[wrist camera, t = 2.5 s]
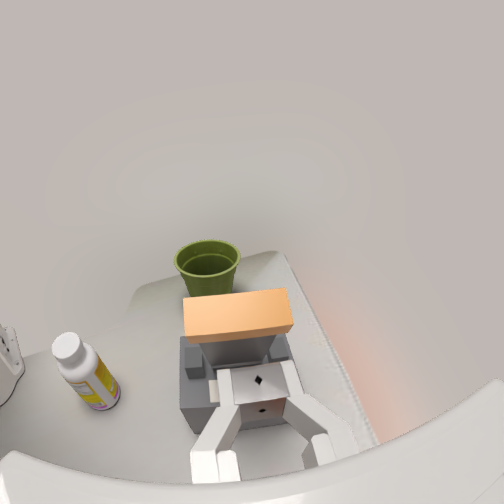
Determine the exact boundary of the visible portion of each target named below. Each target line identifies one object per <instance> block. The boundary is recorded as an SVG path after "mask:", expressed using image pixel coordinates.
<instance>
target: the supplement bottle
mask: <svg viewBox="0 0 504 504" xmlns="http://www.w3.org/2000/svg"><path fill="white" fill-rule="evenodd" d="M52 353H53V355H54V356H55V358H56V359H57V361H58V369H59V372H60V374H61V375H62V376H63V378H64V379H65V380H66V381H67V382H68V383H69V384H70V386H71V387H72V388H73V389H74V390H75V391H76V392H77V393H78V394H79V395H80V397H81V398H82V399H83V400H84V401H85V402H86V403H87V404H88V405H90V406H91V407H92V408H94V409H97V410H105V409H108V408H110V407H112V406H113V405H114V404H115V403H116V402H117V400H118V398H119V394H120V390H119V386H118V384H117V382H116V381H115V379H114V378H113V376H112V375H111V374H110V372H109V371H108V369H107V368H106V366H105V365H104V363H103V362H102V360H101V359H100V357H99V356H98V354H97V353H96V351H95V350H94V349H93V347H91V346H90V345H89V344H87V343H84V342H82V341H81V339H80V338H79V336H78V335H77V334H75V333H72V332H67V333H63V334H62V335H60V336H58V337H57V338H56V340H55V341H54V343H53V345H52Z"/></svg>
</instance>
